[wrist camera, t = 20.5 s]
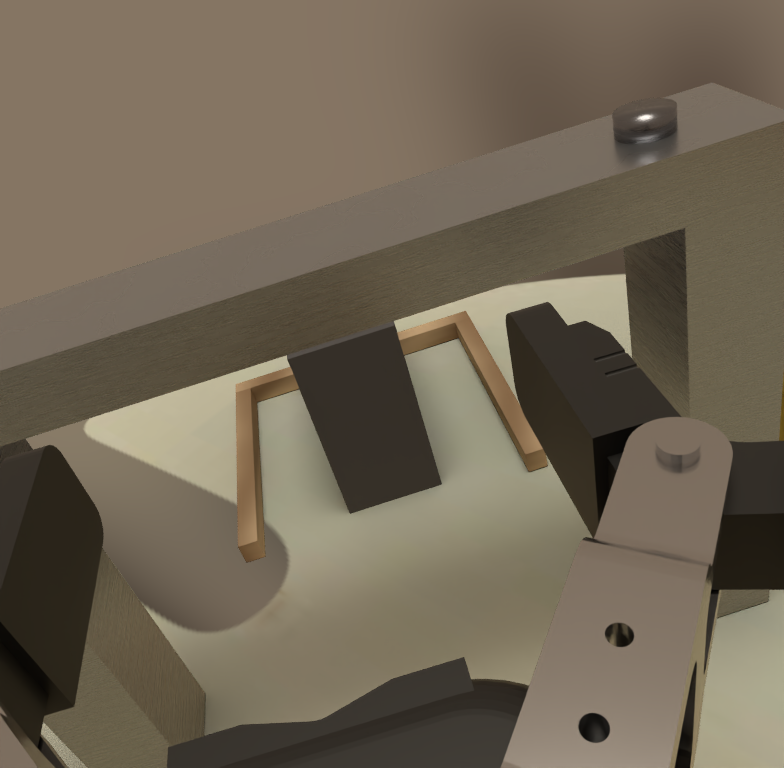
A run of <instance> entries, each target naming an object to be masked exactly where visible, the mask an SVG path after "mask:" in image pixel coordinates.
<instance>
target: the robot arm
mask: <svg viewBox="0 0 784 768" xmlns="http://www.w3.org/2000/svg"><path fill="white" fill-rule="evenodd" d="M506 328H507V335H508V341H509V348H510V355H511V362H512V369H513V376H514V383H515V388H516V393H517V396H518V400H519V403H520V406H521V409H522V411H523V413H524V416H525V418H526V420H527V421H528V423H529V425H530V427H531V428H532V430H533V432H534V434H535V436H536V437H537V439H538V441H539V443H540V444H541V446H542V448H543V450H544V452H545V453H546V455H547V457H548V459H549V460H550V462H551V464H552V466H553V468H554V469H555V471H556V473H557V475H558V476H559V478H560V480H561V482H562V484H563V485H564V487H565V489H566V491H567V492H568V494H569V496H570V498H571V499H572V501H573V503H574V505H575V507H576V508H577V510H578V512H579V514H580V515H581V517H582V519H583V521H584V523H585V524H586V526H587V528H588V530H589V531H590V533H591V535H592V537H593V539H592V538H587V537H585V538H584V539H583V540H582V541H581V543H580V545H579V547H578V549H577V552H576V554H575V557H574V560H573V563H572V566H571V568H570V571H569V574H568V577H567V580H566V583H565V586H564V588H563V591H562V594H561V597H560V600H559V603H558V606H557V608H556V611H555V614H554V617H553V620H552V623H551V626H550V628H549V631H548V634H547V637H546V640H545V643H544V646H543V648H542V651H541V654H540V657H539V660H538V663H537V666H536V668H535V671H534V674H533V677H532V680H531V683H530V686H528V685H525V684H520V683H515V682H510V681H505V680H492V679H471V678H470V675H469V672H468V668H467V665H466V662H465V659H464V657H463V658H459V659H456V660H453V661H450V662H446V663H443V664H440V665H436V666H433V667H430V668H427V669H423V670H420V671H417V672H413V673H410V674H407V675H404V676H400V677H397V678H394V679H391V680H389V681H388V682H386V683H384V684H383V685H381V686H379V687H377V688H376V689H374V690H372V691H370V692H369V693H367V694H365V695H364V696H362V697H360V698H358V699H357V700H355V701H353V702H352V703H350V704H348V705H346V706H345V707H343V708H341V709H339V710H338V711H336V712H334V713H333V714H331V715H329V716H327V717H325V718H323V719H321V720H318V721H312V722H292V723H270V724H249V725H239V726H236V727H233V728H229V729H226V730H223V731H220V732H216V733H213V734H210V735H206V736H203V737H200V738H197V739H193V740H190V741H187V742H183V743H180V744H177V745H174V746H170V747H168V755H167V768H693V766H694V760H695V754H696V748H697V741H698V734H699V727H700V719H701V710H702V702H703V695H704V689H705V683H706V677H707V671H708V665H709V659H710V654H711V648H712V642H713V636H714V630H715V625H716V619H717V613H718V607H719V601H720V595H721V590H784V441H765V442H735V441H729V440H728V439H727V437H726V436H725V435H724V434H723V433H722V432H721V431H720V430H718V429H717V428H715V427H714V426H712V425H710V424H708V423H705V422H703V421H700V420H696V419H692V418H686V417H681V416H680V414H679V413H678V412H677V411H676V410H675V408H674V407H673V406H672V405H671V404H670V403H669V401H668V400H667V399H666V398H665V397H664V396H663V394H662V393H661V392H660V391H659V390H658V389H657V387H656V386H655V385H654V384H653V383H652V381H651V380H650V379H649V378H648V377H647V376H646V374H645V373H644V372H643V371H642V370H641V369H640V367H639V368H637V365H636V363H635V362H634V360H633V359H632V358H631V357H630V356H629V354H628V353H625V350H624V349H623V347H622V346H621V345H620V344H619V343H618V342H617V340H616V339H615V338H614V337H613V336H612V335H611V333H610V332H608V331H606V330H604V329H602V328H599V327H597V326H595V325H593V324H591V323H589V322H587V321H583V322H579V323H576V324H572V325H569V326H568V325H567V324H566V323H565V322H564V320H563V319H562V318H561V316H560V315H559V314H558V312H557V311H556V310H555V309H554V307H553V306H552V305H551V304H550V303H549V302H546V303H542V304H539V305H535V306H532V307H529V308H525V309H522V310H518V311H515V312H511V313H508V314H507V315H506ZM102 527H103V526H102V522H101V518H100V515H99V512H98V510H97V508H96V506H95V504H94V503H93V501H92V500H91V498H90V497H89V495H88V494H87V492H86V491H85V489H84V487H83V486H82V484H81V483H80V481H79V480H78V478H77V476H76V475H75V473H74V472H73V470H72V469H71V467H70V466H69V464H68V463H67V461H66V460H65V458H64V457H63V455H62V453H61V452H60V451H59V450H58V449H57V448H56V447H54V446H52V445H48V446H45V447H42V448H38V449H34V450H31V451H27V452H24V453H20V454H17V455H13V456H10V457H7V458H5V459H4V460H3V462H2V464H1V466H0V768H68V767H67V765H66V764H65V763H64V761H63V760H62V759H61V758H60V756H59V755H58V754H57V752H56V751H55V750H54V748H53V747H52V746H51V745H50V743H49V742H48V741H47V740H46V739H45V738H44V737H43V736H42V735H41V729H42V724H43V720H44V716H46V715H49V714H52V713H56V712H59V711H62V710H65V709H69V708H72V707H74V706H75V700H76V695H77V689H78V683H79V677H80V672H81V666H82V660H83V654H84V649H85V643H86V637H87V631H88V626H89V620H90V614H91V609H92V603H93V597H94V591H95V586H96V580H97V574H98V568H99V563H100V557H101V551H102V545H103V528H102Z"/></svg>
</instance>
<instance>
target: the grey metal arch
mask: <svg viewBox="0 0 784 768" xmlns="http://www.w3.org/2000/svg"><path fill="white" fill-rule="evenodd" d="M620 248H624V259H625V271H626V284H627V297H628V310H629V323H630V336H631V348H632V359H633V360H634V362H635V363H636V365H637V368H639V367H640V369H641V370H642V371H643V372H644V373H645V374H646V376H647V377H648V378H649V379H650V380H651V381H652V383H653V384H654V385H655V386H656V387H657V389H658V390H659V391H660V392H661V393H662V394H663V396H664V397H665V398H666V399H667V400H668V401H669V403H670V404H671V405H672V406H673V407H674V408H675V410H676V411H677V412H678V413H679V414H680V416H681V417H686V418H692V419H696V420H700V421H703V422H705V423H708V424H710V425H712V426H714V427H715V428H717V429H718V430H720V431H721V432H722V433H723V434H724V435H725V436H726V437H727V439H728V440H729V441H735V442H765V441H779V433H780V418H781V403H782V388H783V373H784V109H781V108H778V107H776V106H773V105H770V104H768V103H765V102H762V101H760V100H757V99H755V98H752V97H749V96H746V95H744V94H741V93H739V92H736V91H733V90H731V89H728V88H726V87H723V86H720V85H718V84H715V83H709V84H706V85H703V86H700V87H696V88H693V89H690V90H687V91H684V92H681V93H678V94H675V95H671V96H668V97H665V98H649V99H643V100H638V101H634V102H631V103H628V104H625V105H623V106H621V107H619V108H617V109H616V110H615V111H614V112H613V113H612V114H611V115H609V116H605V117H602V118H599V119H596V120H593V121H590V122H586V123H583V124H580V125H577V126H574V127H571V128H567V129H565V130H561V131H558V132H555V133H552V134H549V135H545V136H542V137H539V138H536V139H533V140H530V141H527V142H524V143H520V144H517V145H514V146H511V147H508V148H504V149H501V150H498V151H495V152H492V153H489V154H486V155H483V156H479V157H476V158H473V159H470V160H467V161H464V162H460V163H457V164H455V165H451V166H448V167H445V168H442V169H438V170H435V171H432V172H429V173H426V174H423V175H420V176H416V177H413V178H410V179H407V180H404V181H401V182H398V183H394V184H391V185H388V186H385V187H382V188H379V189H375V190H372V191H369V192H366V193H363V194H360V195H357V196H353V197H350V198H348V199H344V200H341V201H338V202H335V203H331V204H329V205H325V206H322V207H319V208H316V209H313V210H309V211H307V212H303V213H300V214H297V215H294V216H291V217H287V218H284V219H281V220H278V221H275V222H272V223H269V224H265V225H262V226H259V227H256V228H253V229H250V230H247V231H243V232H240V233H237V234H234V235H231V236H228V237H225V238H221V239H218V240H215V241H212V242H209V243H206V244H202V245H199V246H196V247H193V248H190V249H187V250H184V251H181V252H177V253H174V254H171V255H168V256H165V257H162V258H158V259H155V260H152V261H149V262H146V263H143V264H139V265H136V266H133V267H130V268H127V269H124V270H121V271H118V272H114V273H111V274H108V275H105V276H102V277H99V278H96V279H92V280H89V281H86V282H83V283H80V284H77V285H73V286H70V287H67V288H64V289H61V290H58V291H55V292H51V293H48V294H45V295H42V296H39V297H36V298H33V299H29V300H27V301H23V302H20V303H17V304H14V305H10V306H7V307H4V308H1V309H0V466H1V464H2V462H3V460H4V459H5V458H7V457H10V456H13V455H17V454H20V453H24V452H27V451H31V450H33V449H32V448H31V446H30V445H29V443H28V442H27V441H26V438H29V437H32V436H35V435H38V434H42V433H45V432H48V431H51V430H54V429H57V428H60V427H63V426H66V425H70V424H73V423H76V422H79V421H82V420H85V419H89V418H92V417H95V416H98V415H101V414H104V413H107V412H110V411H114V410H117V409H120V408H123V407H126V406H129V405H132V404H136V403H139V402H142V401H145V400H148V399H151V398H154V397H157V396H161V395H164V394H167V393H170V392H173V391H176V390H179V389H182V388H186V387H189V386H192V385H195V384H198V383H201V382H204V381H207V380H211V379H214V378H217V377H220V376H223V375H226V374H229V373H232V372H236V371H239V370H242V369H245V368H248V367H251V366H254V365H258V364H261V363H264V362H267V361H270V360H273V359H276V358H279V357H283V356H286V355H289V354H292V353H295V352H298V351H301V350H304V349H308V348H311V347H314V346H317V345H320V344H323V343H326V342H329V341H333V340H336V339H339V338H342V337H345V336H348V335H351V334H354V333H358V332H361V331H364V330H367V329H370V328H373V327H376V326H380V325H383V324H386V323H389V322H392V321H395V320H398V319H401V318H405V317H408V316H411V315H414V314H417V313H420V312H423V311H426V310H430V309H433V308H436V307H439V306H442V305H445V304H448V303H451V302H455V301H458V300H461V299H464V298H467V297H470V296H473V295H476V294H480V293H483V292H486V291H489V290H492V289H495V288H498V287H502V286H505V285H508V284H511V283H514V282H517V281H520V280H523V279H527V278H529V277H533V276H536V275H539V274H542V273H545V272H548V271H552V270H555V269H558V268H561V267H564V266H567V265H570V264H573V263H577V262H580V261H583V260H586V259H589V258H592V257H595V256H598V255H602V254H605V253H608V252H611V251H614V250H617V249H620ZM767 601H769V590H721V595H720V601H719V607H718V613H717V618H718V617H721V616H724V615H727V614H730V613H733V612H736V611H739V610H742V609H745V608H749V607H752V606H755V605H758V604H761V603H764V602H767ZM204 720H205V692H204V691H203V690H202V688H201V687H200V685H199V684H198V683H197V681H196V680H195V678H194V677H193V675H192V674H191V673H190V671H189V670H188V668H187V667H186V666H185V664H184V663H183V661H182V660H181V658H180V657H179V656H178V654H177V653H176V651H175V650H174V649H173V647H172V646H171V644H170V643H169V641H168V640H167V639H166V637H165V636H164V634H163V633H162V632H161V630H160V629H159V627H158V626H157V625H156V623H155V622H154V620H153V619H152V617H151V616H150V615H149V613H148V612H147V610H146V609H145V608H144V606H143V605H142V603H141V602H140V600H139V599H138V598H137V596H136V595H135V593H134V592H133V591H132V589H131V588H130V586H129V585H128V584H127V582H126V581H125V579H124V578H123V577H122V575H121V574H120V572H119V571H118V569H117V568H116V566H115V565H114V564H113V562H112V561H111V559H110V558H109V557H108V555H107V554H106V552H105V551H104V550H103V548H102V551H101V557H100V563H99V568H98V574H97V580H96V586H95V591H94V597H93V603H92V609H91V614H90V620H89V626H88V631H87V637H86V643H85V649H84V654H83V660H82V666H81V672H80V677H79V683H78V689H77V695H76V700H75V706H74V707H72V708H69V709H65V710H62V711H59V712H56V713H52V714H49V715H46V716H44V720H43V722H44V723H45V724H46V725H47V726H48V727H49V728H50V729H51V730H52V731H53V732H54V733H55V734H56V735H57V736H58V737H59V738H60V740H61V741H62V742H63V743H64V744H65V745H66V746H67V747H68V748H69V749H70V750H71V751H72V752H73V753H74V754H75V755H76V756H77V757H78V758H79V759H80V760H81V761H82V762H83V763H84V764H85V765H86V766H87V767H88V768H167V755H168V747H170V746H174V745H177V744H180V743H183V742H187V741H190V740H193V739H197V738H200V737H203V736H204Z"/></svg>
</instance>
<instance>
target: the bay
mask: <svg viewBox="0 0 784 768" xmlns="http://www.w3.org/2000/svg"><path fill="white" fill-rule="evenodd" d="M397 334H398V337H399V341H400V344H401V347H402V351H403V354H404V355H406V354H409V353H412V352H415V351H418V350H422V349H425V348H428V347H431V346H434V345H437V344H440V343H443V342H447V341H450V340H453V339H456V338H459V339H460V341H461V343H462V345H463V347H464V349H465V351H466V353H467V354H468V356H469V358H470V360H471V362H472V364H473V366H474V368H475V370H476V372H477V374H478V375H479V377H480V379H481V381H482V383H483V385H484V387H485V389H486V391H487V393H488V395H489V396H490V398H491V400H492V402H493V404H494V406H495V408H496V410H497V412H498V414H499V416H500V417H501V419H502V421H503V423H504V425H505V427H506V429H507V431H508V433H509V435H510V437H511V438H512V440H513V442H514V444H515V446H516V448H517V450H518V452H519V454H520V456H521V458H522V459H523V461H524V463H525V465H526V467H527V469H528V471H529V472H530V471H533V470H536V469H539V468H542V467H545V466H548V465H547V459H546V453H545V452H544V450H543V448H542V446H541V444H540V443H539V441H538V439H537V437H536V436H535V434H534V432H533V430H532V428H531V427H530V425H529V423H528V421H527V420H526V418H525V416H524V413H523V411H522V409H521V406H520V405H519V403H518V401H517V399H516V398H515V396H514V394H513V392H512V391H511V389H510V387H509V385H508V384H507V382H506V380H505V378H504V377H503V375H502V373H501V372H500V370H499V368H498V366H497V365H496V363H495V361H494V359H493V358H492V356H491V354H490V352H489V351H488V349H487V347H486V345H485V344H484V342H483V340H482V338H481V337H480V335H479V333H478V331H477V330H476V328H475V326H474V325H473V323H472V321H471V319H470V318H469V316H468V314H467V312H466V311H464V312H461V313H457V314H454V315H451V316H448V317H445V318H442V319H439V320H436V321H432V322H429V323H426V324H423V325H420V326H417V327H414V328H410V329H407V330H404V331H401V332H398V333H397ZM297 389H299V387H298V384H297V382H296V379H295V377H294V374H293V372H292V369H291V367H289V368H285V369H282V370H279V371H276V372H273V373H270V374H267V375H264V376H260V377H257V378H254V379H251V380H248V381H245V382H242V383H239V384H236V436H237V509H238V548H239V550H240V551H241V553H242V555H243V557H244V559H245V561H246V562H251V561H254V560H257V559H260V558H263V557H265V538H264V520H263V502H262V484H261V466H260V447H259V429H258V411H257V402H259V401H262V400H265V399H268V398H272V397H275V396H278V395H281V394H284V393H287V392H290V391H293V390H297Z"/></svg>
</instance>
